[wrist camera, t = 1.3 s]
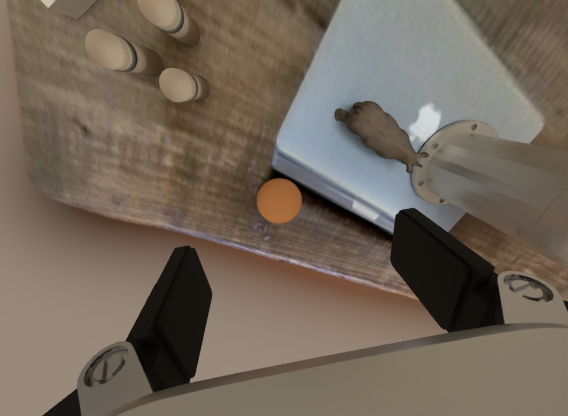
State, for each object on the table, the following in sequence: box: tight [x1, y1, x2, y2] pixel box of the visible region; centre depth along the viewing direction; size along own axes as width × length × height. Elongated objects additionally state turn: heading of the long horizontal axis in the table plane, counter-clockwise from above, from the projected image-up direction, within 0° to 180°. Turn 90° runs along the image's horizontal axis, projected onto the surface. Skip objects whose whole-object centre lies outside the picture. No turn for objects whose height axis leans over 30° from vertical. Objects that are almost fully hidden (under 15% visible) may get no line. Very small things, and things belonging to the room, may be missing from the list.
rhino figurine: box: [335, 101, 429, 174], centre depth 28 cm, size 4×14×6 cm, turn 56°
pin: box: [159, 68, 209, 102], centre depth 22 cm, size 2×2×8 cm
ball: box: [257, 178, 302, 224], centre depth 30 cm, size 6×6×6 cm
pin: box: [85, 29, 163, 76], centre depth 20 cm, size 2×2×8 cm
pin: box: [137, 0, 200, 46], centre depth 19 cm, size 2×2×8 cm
